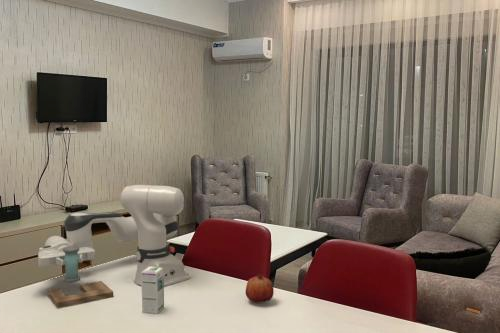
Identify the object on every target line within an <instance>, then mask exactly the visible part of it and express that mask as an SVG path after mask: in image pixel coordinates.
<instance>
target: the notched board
mask: <svg viewBox="0 0 500 333" xmlns="http://www.w3.org/2000/svg"><path fill="white" fill-rule="evenodd" d="M79 288H80V291H81V292H78V293H75V294H74V293H73V294H69V295H65V293H63V291H62V290H61V289H60V288H55V289H50V290H47V297H48V298H49V299H50V301H51V302H52V304H54V306H55V308H56V309H61V308H65V307H72V306H76V305H80V304H86V303H91V302H95V301H100V300H104V299H105V300H106V299H110V298H113V297H114V290H112V289H111V288H110V287H109V286H108V285H106V283H105V282H103V281H102V280H99V281H94V282H88V283H82V284H80V286H79Z"/></svg>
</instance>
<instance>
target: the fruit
mask: <svg viewBox="0 0 500 333" xmlns="http://www.w3.org/2000/svg"><path fill="white" fill-rule="evenodd" d="M245 296H246V297H247V299H248V300H249V301H251V302H253V303H260V304H261V303H266V302H269V301H270V300H271V299H272V298H273V296H274V284H273V283H272V281H271V279H269V277H265V276H263V274H261V273H260V274H257V275H255V276H253V277H251V278H249V279H248V280H247V282H246V286H245Z"/></svg>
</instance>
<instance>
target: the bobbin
mask: <svg viewBox="0 0 500 333" xmlns="http://www.w3.org/2000/svg"><path fill="white" fill-rule="evenodd" d="M78 251H79V247H78V246H68V247H64V248H63V252H65V260H66V265H64V272H65V273H64V277H63V283H69V284H71V283H72V284H73V283H76V282H79V281H80V280H81V276H80V275H79V263H78Z"/></svg>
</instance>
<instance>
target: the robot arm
mask: <svg viewBox="0 0 500 333" xmlns="http://www.w3.org/2000/svg"><path fill="white" fill-rule="evenodd" d="M119 200H120V204H121V206H122V208H123V210H126V212H128V214H129V215H131V216H127V217H125V216H123V214H122V213H119V212H89V213H88V212H87V213H86V212H73V213H70V214H68V215H67V217H66V218H65V220H64V222H63V224H64V227H65V233H66V238H64V237H62V236H59V235H52V236H49V237H48V238H47V239H46V241H45V243H44V246H42V247H39V248H38V254H37V258H38V259H37V261H38V262H37V263H38V264H37V265H38V267H39V268H46V267H51V266H61V267H63V266H65V265H66V260H65V252H63V248H64V247H68V246H78V247H79V251H78V264H81V263H83V262H84V261H92V260H95V259H96V250H95V249H94V244H93V236H92V224H98V223H99V224H100V223H106V225H107V226H108V228H109V230H110V232H111V234H112V236H113V237H114V238H115V239H116V240H117V241H119V242H120V243H131V242H134V241H136V240H137V242H138V244H137V245H138V246H137V248H136V249H137V250H136V260H137V267H136V274H135V277H134V283H135V284H137V285H140V286H142V278H141V272H142V271H144V270H145V269H147V268H148V267H162V268H163V280H164V287H167V286H170V285H173V284H177V283H180V282H185V281H187V280H190V279H191V274H190V273H189V272H188V271H186V270H185V266H184V263H183V261H182V260H180V259H178V257H176V256H175V255H173V254H172V253H174V252H175V251H176V250H175V249H176V248H175V247H174V246H170V245H167V238H170V237H173V236H174V235H176V233H178V232H179V230H180V224H179V221H177V217H176V216H177V215H179V214H181V212H182V211H183V210H184V206H185V205H184V202H185V196H184V194H183V192H182V190H181V188H177V187H174V186H171V185H170V186H169V185H156V184H155V185H154V184H153V185H152V184H133V185H127V186H125V187H124V188H123V189H122V191H121V192H120V197H119Z"/></svg>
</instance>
